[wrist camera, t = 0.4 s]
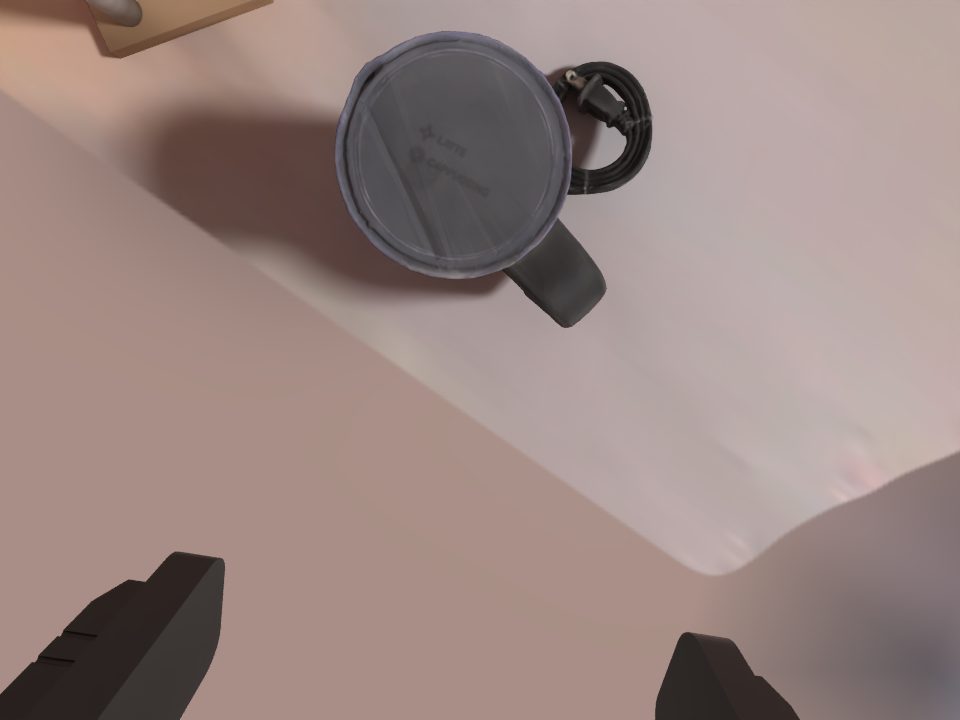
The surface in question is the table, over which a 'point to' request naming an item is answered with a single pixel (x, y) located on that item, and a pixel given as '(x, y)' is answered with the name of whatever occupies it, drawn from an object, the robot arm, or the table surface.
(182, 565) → the robot arm
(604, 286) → the milk frother
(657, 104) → the table surface
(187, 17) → the pin tray
